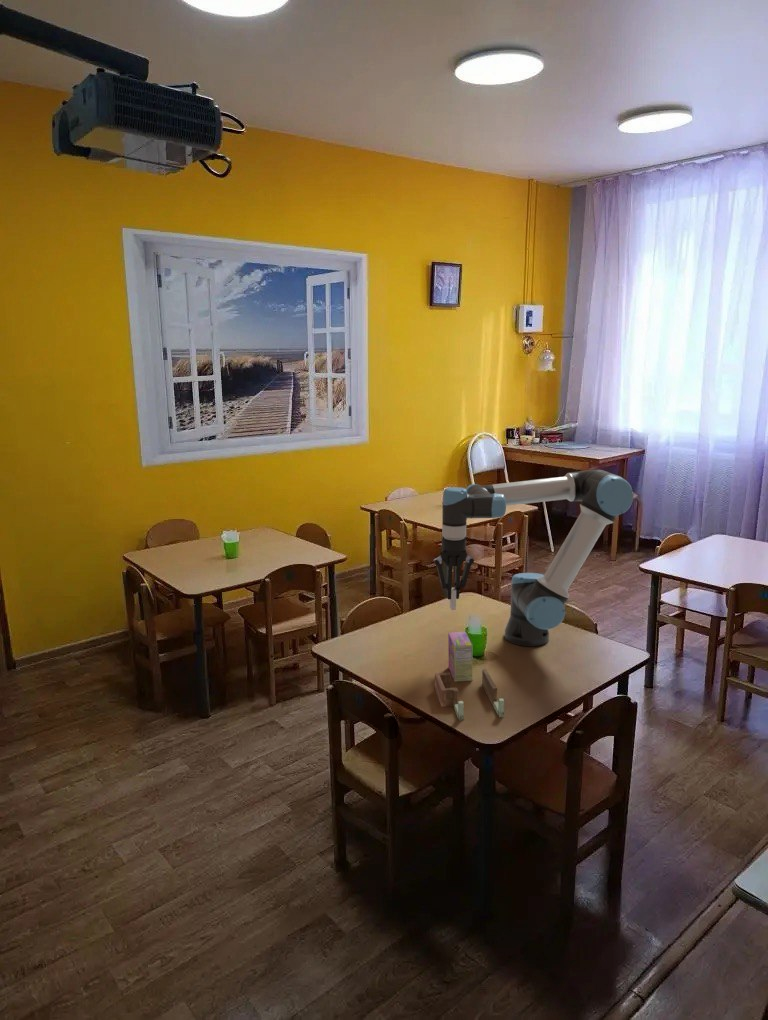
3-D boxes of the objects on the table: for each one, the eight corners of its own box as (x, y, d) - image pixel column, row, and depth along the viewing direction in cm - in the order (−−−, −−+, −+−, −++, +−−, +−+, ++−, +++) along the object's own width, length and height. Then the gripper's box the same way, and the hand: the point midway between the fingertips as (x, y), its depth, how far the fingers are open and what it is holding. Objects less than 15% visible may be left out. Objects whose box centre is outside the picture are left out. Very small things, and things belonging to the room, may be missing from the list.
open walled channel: (485, 684, 206) (486, 669, 205) (496, 704, 194) (497, 688, 193) (434, 687, 204) (434, 672, 203) (442, 708, 193) (442, 691, 192)
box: (447, 667, 218) (448, 632, 215) (465, 666, 218) (466, 631, 216) (453, 682, 208) (454, 646, 205) (472, 681, 208) (473, 645, 206)
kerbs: (497, 706, 193) (498, 690, 192) (503, 717, 188) (504, 700, 186) (454, 709, 192) (454, 692, 191) (459, 720, 186) (459, 703, 185)
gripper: (471, 533, 219) (469, 603, 224) (431, 534, 218) (430, 605, 223) (477, 539, 212) (475, 611, 217) (435, 541, 210) (434, 613, 216)
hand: (452, 608), depth 220 cm, fingers closed
